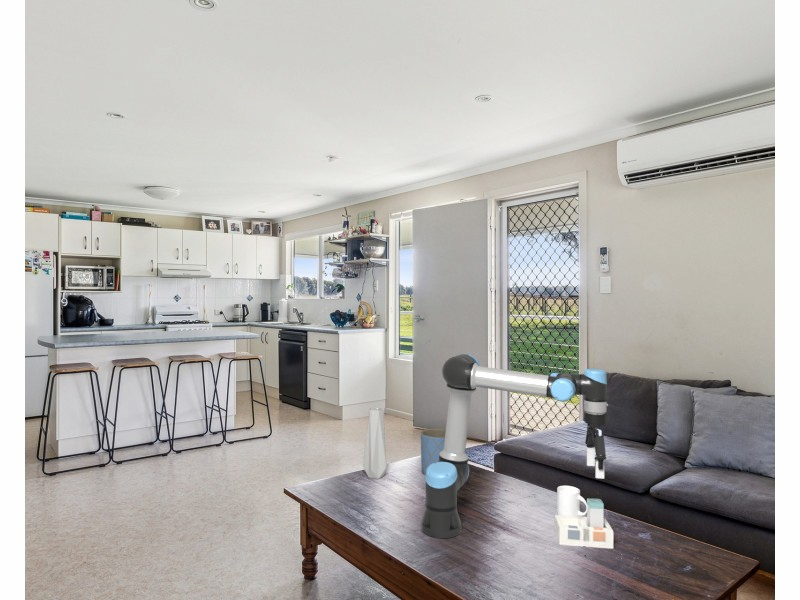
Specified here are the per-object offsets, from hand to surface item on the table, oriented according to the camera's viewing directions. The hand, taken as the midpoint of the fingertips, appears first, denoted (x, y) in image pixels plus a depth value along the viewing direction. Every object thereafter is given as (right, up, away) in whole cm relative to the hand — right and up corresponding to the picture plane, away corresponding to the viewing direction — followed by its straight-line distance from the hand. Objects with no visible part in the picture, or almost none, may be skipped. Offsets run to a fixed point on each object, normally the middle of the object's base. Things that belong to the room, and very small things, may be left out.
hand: (595, 471), depth 180 cm
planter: (-50, -25, +72) cm, 91 cm away
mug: (-1, -25, +19) cm, 32 cm away
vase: (-82, -25, +65) cm, 107 cm away
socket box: (-4, -25, 0) cm, 25 cm away
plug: (0, -23, 0) cm, 23 cm away
